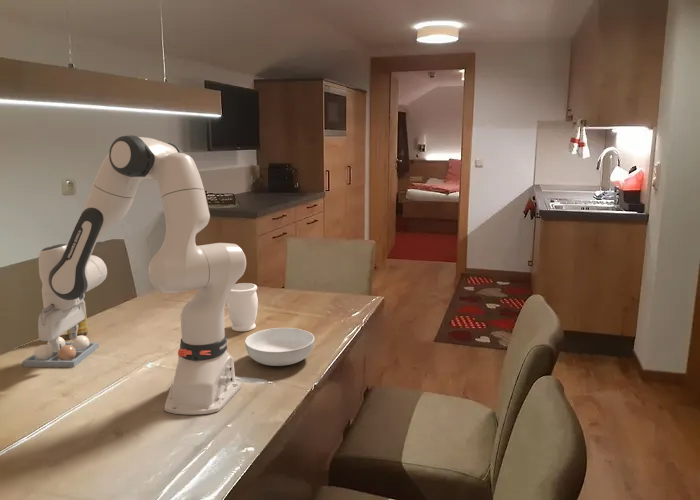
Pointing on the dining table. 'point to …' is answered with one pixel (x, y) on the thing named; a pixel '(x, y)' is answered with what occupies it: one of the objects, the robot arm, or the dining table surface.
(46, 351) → the white egg
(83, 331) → the sauce bottle
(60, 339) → the white egg
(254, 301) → the jar
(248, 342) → the serving bowl
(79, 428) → the dining table surface
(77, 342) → the white egg
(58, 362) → the egg tray
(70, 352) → the brown egg
